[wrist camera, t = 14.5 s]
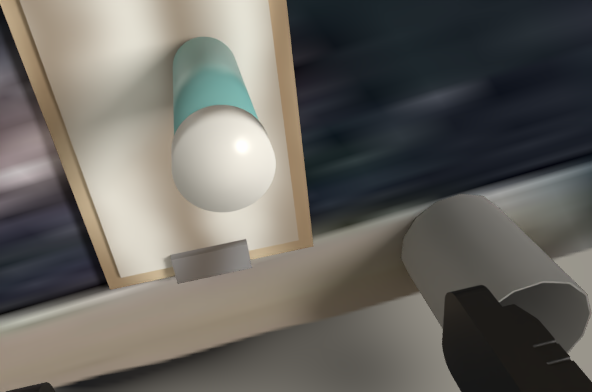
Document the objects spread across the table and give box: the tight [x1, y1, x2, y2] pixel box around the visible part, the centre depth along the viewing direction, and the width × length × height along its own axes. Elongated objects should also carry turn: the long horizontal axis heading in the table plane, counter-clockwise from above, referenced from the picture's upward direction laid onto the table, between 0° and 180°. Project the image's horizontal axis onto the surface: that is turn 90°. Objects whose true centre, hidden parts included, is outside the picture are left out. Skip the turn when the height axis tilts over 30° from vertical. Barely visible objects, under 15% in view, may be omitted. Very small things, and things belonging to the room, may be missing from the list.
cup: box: [401, 194, 591, 354], centre depth 36 cm, size 8×8×10 cm
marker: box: [171, 37, 276, 212], centre depth 24 cm, size 4×4×12 cm
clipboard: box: [0, 0, 313, 290], centre depth 31 cm, size 14×20×2 cm
